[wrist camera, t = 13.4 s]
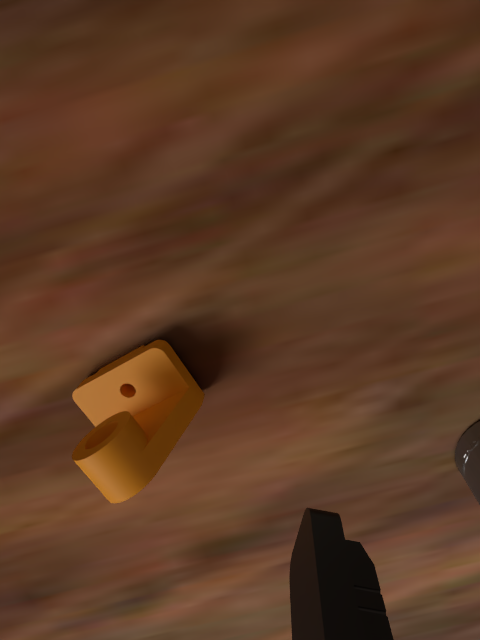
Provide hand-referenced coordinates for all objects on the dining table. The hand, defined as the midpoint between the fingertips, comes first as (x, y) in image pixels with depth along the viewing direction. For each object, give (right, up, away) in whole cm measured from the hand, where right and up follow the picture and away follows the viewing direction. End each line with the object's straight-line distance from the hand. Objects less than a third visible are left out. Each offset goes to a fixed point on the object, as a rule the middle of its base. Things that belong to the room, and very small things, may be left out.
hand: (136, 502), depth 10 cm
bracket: (-7, -2, +32) cm, 33 cm away
